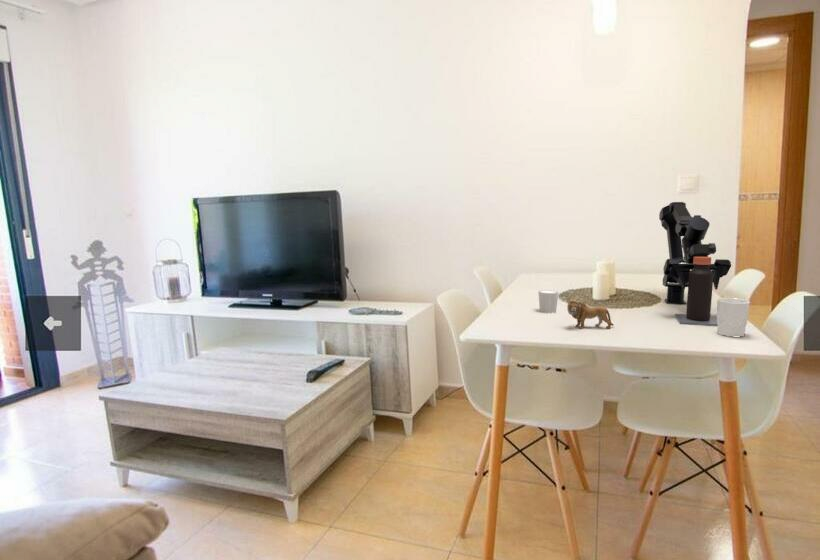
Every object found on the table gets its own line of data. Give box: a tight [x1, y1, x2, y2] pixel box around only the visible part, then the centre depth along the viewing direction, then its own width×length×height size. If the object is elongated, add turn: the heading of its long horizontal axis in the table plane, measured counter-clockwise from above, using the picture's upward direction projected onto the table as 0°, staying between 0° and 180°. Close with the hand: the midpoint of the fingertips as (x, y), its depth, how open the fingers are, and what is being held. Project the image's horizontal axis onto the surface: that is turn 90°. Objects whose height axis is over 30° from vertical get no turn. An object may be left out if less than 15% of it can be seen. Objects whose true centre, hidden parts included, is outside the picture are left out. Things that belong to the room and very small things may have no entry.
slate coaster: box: [674, 313, 718, 327], centre depth 163 cm, size 12×12×1 cm
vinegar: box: [685, 256, 714, 321], centre depth 162 cm, size 7×7×20 cm
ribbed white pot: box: [537, 289, 559, 314], centre depth 181 cm, size 7×7×7 cm
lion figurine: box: [567, 299, 615, 330], centre depth 157 cm, size 15×5×9 cm, turn 92°
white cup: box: [716, 297, 751, 337], centre depth 146 cm, size 8×8×10 cm
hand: (700, 288), depth 161 cm, fingers open, 9 cm apart
